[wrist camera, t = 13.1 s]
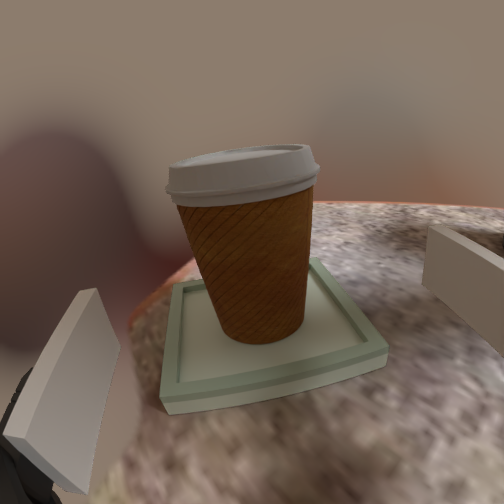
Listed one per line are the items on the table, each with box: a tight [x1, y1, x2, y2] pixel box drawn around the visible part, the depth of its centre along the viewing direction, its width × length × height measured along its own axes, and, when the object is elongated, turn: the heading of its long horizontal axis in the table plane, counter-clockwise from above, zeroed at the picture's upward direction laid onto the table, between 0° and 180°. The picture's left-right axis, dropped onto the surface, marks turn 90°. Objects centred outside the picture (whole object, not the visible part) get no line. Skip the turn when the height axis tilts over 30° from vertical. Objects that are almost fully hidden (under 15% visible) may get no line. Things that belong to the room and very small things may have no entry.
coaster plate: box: [159, 257, 390, 415], centre depth 23 cm, size 14×14×2 cm
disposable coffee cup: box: [165, 144, 320, 344], centre depth 20 cm, size 10×10×12 cm
